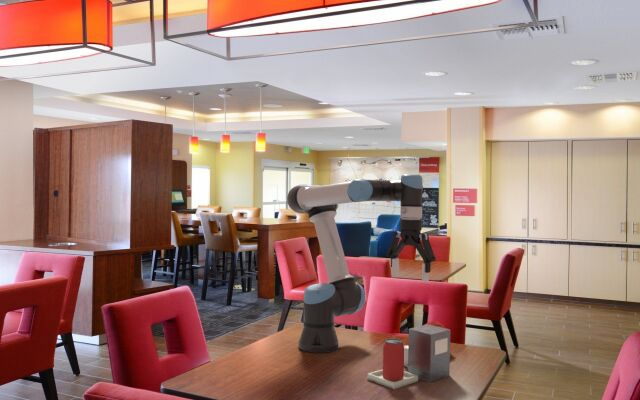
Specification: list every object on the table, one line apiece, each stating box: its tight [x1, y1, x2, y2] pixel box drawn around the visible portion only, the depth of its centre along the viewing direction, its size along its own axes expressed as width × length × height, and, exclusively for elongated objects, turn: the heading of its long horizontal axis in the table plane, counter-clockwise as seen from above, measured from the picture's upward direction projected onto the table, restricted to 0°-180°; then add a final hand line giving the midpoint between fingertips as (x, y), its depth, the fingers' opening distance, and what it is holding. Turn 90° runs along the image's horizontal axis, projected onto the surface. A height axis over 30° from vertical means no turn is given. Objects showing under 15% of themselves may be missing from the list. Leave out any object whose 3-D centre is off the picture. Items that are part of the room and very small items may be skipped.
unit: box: [407, 324, 451, 383], centre depth 183 cm, size 10×10×15 cm
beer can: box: [382, 338, 405, 382], centre depth 177 cm, size 7×7×12 cm
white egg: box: [403, 345, 408, 368], centre depth 193 cm, size 5×5×6 cm
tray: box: [366, 368, 419, 390], centre depth 177 cm, size 11×11×2 cm
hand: (409, 279), depth 197 cm, fingers open, 13 cm apart
